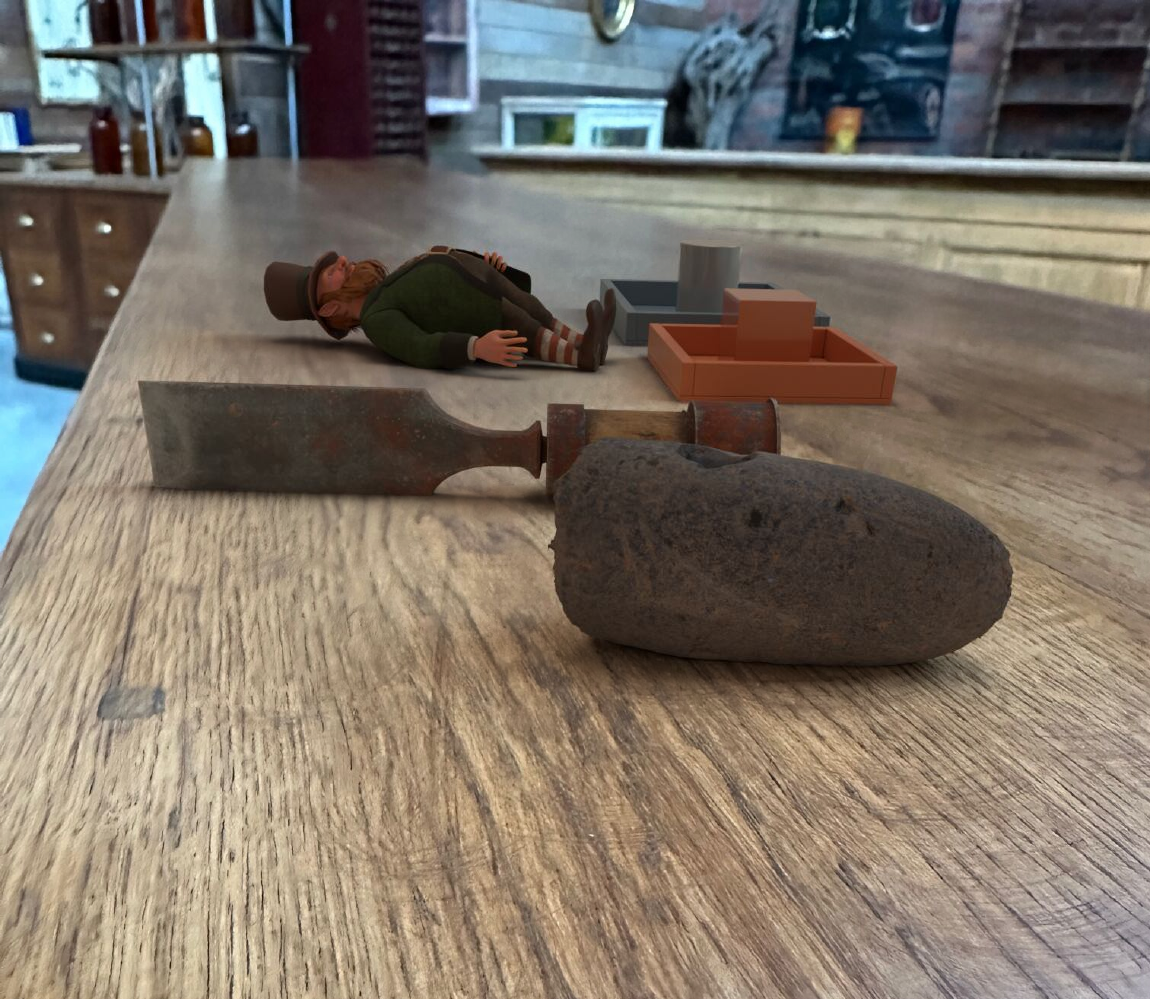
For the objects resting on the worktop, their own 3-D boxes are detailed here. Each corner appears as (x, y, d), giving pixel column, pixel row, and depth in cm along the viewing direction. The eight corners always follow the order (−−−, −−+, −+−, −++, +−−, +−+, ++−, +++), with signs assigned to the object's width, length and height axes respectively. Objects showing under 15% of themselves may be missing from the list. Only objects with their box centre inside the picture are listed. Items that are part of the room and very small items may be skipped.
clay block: (787, 366, 79) (796, 289, 76) (806, 382, 74) (817, 301, 72) (716, 365, 78) (724, 288, 76) (732, 381, 74) (740, 300, 71)
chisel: (136, 511, 50) (117, 394, 47) (168, 477, 54) (152, 369, 51) (772, 526, 51) (786, 413, 48) (753, 492, 55) (766, 387, 53)
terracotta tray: (829, 364, 83) (834, 326, 82) (890, 408, 72) (898, 365, 70) (646, 361, 82) (649, 323, 80) (679, 406, 70) (682, 362, 69)
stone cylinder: (727, 317, 96) (735, 240, 93) (740, 328, 92) (749, 247, 88) (669, 316, 95) (675, 238, 92) (679, 327, 91) (686, 245, 88)
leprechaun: (581, 352, 71) (213, 279, 74) (580, 460, 79) (250, 390, 82) (624, 241, 76) (277, 177, 79) (619, 354, 84) (305, 292, 87)
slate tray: (770, 313, 102) (774, 282, 101) (825, 352, 87) (830, 316, 86) (599, 310, 100) (600, 278, 99) (625, 349, 85) (627, 312, 84)
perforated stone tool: (980, 645, 40) (1027, 450, 37) (1005, 712, 36) (1061, 498, 32) (566, 606, 42) (572, 416, 38) (541, 666, 38) (545, 458, 34)
